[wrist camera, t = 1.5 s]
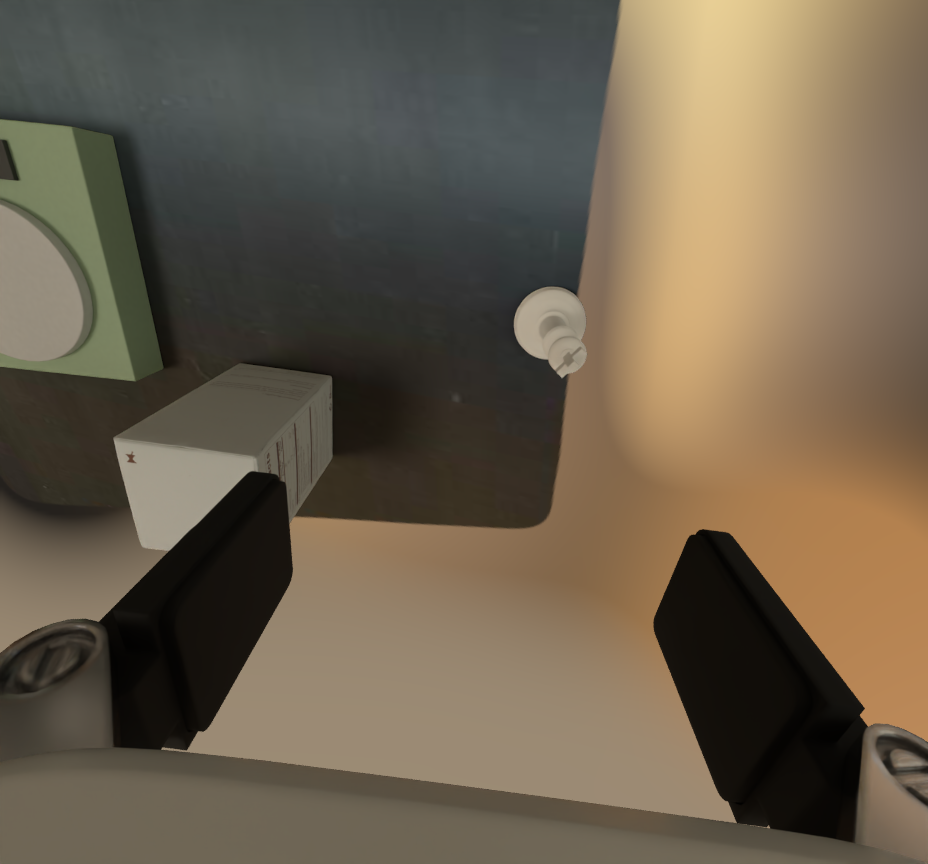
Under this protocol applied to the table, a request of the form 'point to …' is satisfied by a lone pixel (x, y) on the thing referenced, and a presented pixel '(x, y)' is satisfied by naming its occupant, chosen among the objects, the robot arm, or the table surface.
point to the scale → (69, 258)
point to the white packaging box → (225, 447)
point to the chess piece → (552, 328)
